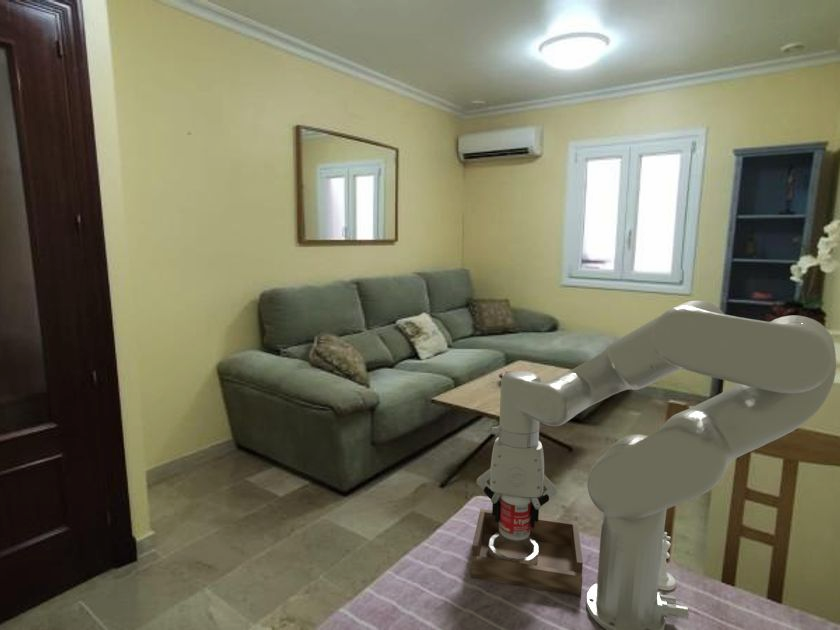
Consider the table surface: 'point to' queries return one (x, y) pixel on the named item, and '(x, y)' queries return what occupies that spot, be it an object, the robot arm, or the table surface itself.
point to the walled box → (555, 555)
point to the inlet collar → (526, 542)
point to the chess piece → (665, 578)
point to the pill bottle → (515, 517)
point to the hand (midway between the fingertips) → (514, 520)
